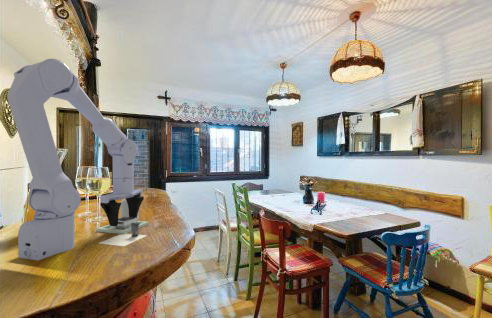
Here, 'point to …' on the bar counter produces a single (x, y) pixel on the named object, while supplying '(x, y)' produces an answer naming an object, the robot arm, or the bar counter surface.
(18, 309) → the bar counter surface
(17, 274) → the bar counter surface
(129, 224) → the grey square block
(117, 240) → the board
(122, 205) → the eye dropper bottle
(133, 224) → the stake
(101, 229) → the tray
